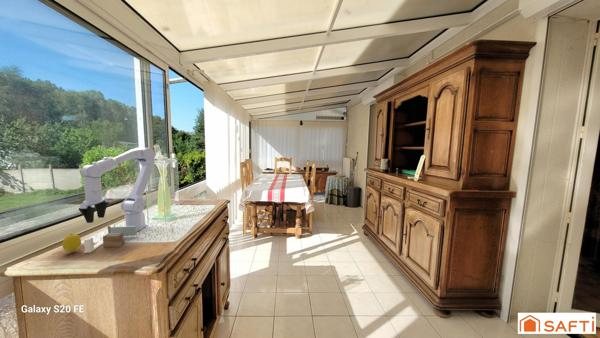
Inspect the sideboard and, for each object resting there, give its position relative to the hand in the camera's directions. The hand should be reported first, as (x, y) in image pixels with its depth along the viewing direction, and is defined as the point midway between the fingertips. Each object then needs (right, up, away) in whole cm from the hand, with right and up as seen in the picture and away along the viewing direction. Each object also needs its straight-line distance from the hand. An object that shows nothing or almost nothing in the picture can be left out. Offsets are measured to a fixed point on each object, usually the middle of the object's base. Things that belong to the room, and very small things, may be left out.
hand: (95, 219), depth 107 cm
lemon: (0, -11, -11) cm, 16 cm away
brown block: (+12, -10, -4) cm, 16 cm away
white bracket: (+5, -10, -3) cm, 12 cm away
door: (+9, -9, +5) cm, 13 cm away
